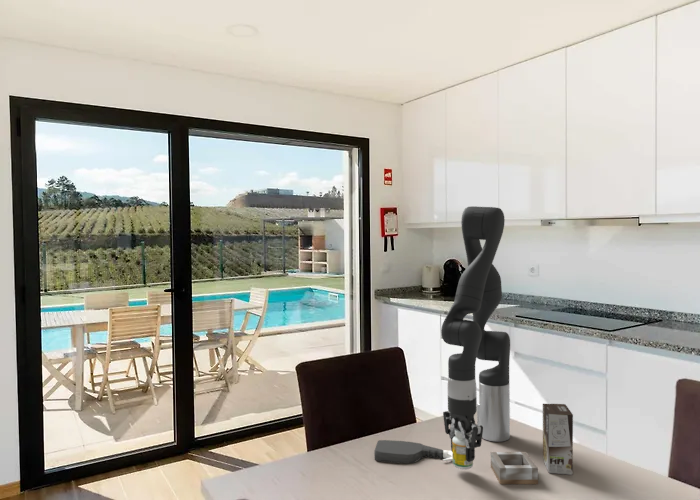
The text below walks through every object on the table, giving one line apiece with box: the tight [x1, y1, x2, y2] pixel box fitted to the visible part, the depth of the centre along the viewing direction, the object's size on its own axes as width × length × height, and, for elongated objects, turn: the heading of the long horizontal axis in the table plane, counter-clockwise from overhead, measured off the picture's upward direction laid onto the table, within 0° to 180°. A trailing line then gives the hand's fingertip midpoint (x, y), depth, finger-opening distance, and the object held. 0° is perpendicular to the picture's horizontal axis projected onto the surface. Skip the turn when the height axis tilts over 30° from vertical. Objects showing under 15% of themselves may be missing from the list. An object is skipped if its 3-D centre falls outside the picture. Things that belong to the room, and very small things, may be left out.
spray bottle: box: [373, 439, 453, 464], centre depth 148 cm, size 3×11×24 cm
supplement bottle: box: [452, 429, 474, 470], centre depth 137 cm, size 5×5×10 cm
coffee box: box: [542, 403, 574, 476], centre depth 140 cm, size 9×6×16 cm
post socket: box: [490, 451, 539, 485], centre depth 136 cm, size 10×10×4 cm
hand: (462, 456), depth 137 cm, fingers closed on supplement bottle, 5 cm apart
